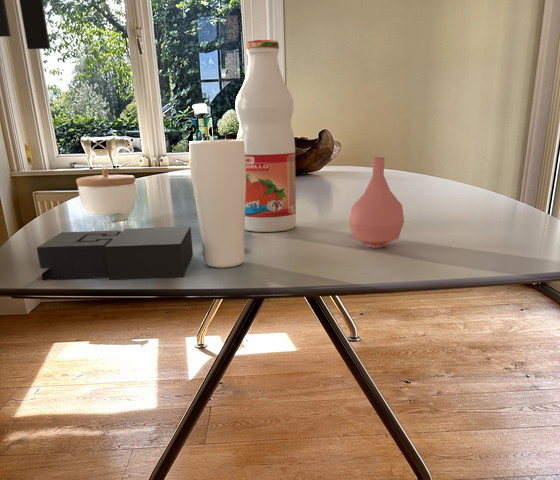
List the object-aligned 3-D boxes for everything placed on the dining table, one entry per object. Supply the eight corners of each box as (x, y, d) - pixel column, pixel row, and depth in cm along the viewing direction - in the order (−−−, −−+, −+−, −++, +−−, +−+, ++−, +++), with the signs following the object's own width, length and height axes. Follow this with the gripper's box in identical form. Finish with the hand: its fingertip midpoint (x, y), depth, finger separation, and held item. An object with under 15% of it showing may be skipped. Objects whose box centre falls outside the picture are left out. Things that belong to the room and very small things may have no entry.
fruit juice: (307, 226, 102) (306, 40, 91) (269, 235, 96) (263, 36, 84) (267, 221, 108) (262, 46, 97) (229, 229, 102) (218, 42, 90)
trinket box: (111, 214, 121) (104, 165, 118) (151, 217, 116) (145, 166, 113) (70, 222, 113) (61, 170, 109) (111, 226, 108) (104, 171, 104)
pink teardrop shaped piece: (388, 239, 90) (392, 154, 85) (412, 249, 83) (417, 157, 78) (340, 243, 88) (341, 157, 83) (360, 253, 81) (363, 160, 77)
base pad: (75, 280, 72) (69, 247, 70) (99, 258, 83) (95, 229, 81) (183, 277, 72) (180, 243, 71) (193, 255, 83) (190, 226, 82)
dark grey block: (42, 280, 73) (36, 247, 71) (66, 261, 82) (61, 232, 80) (108, 277, 73) (103, 245, 71) (124, 259, 82) (121, 230, 80)
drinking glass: (190, 262, 79) (180, 141, 73) (236, 255, 82) (230, 139, 76) (210, 272, 74) (201, 143, 68) (259, 265, 77) (254, 140, 71)
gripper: (-37, -246, 53) (11, 28, 61) (52, -137, 76) (79, 52, 84) (-123, -244, 53) (-62, 30, 61) (-7, -136, 76) (25, 53, 84)
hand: (20, 43), depth 73 cm, fingers open, 13 cm apart
